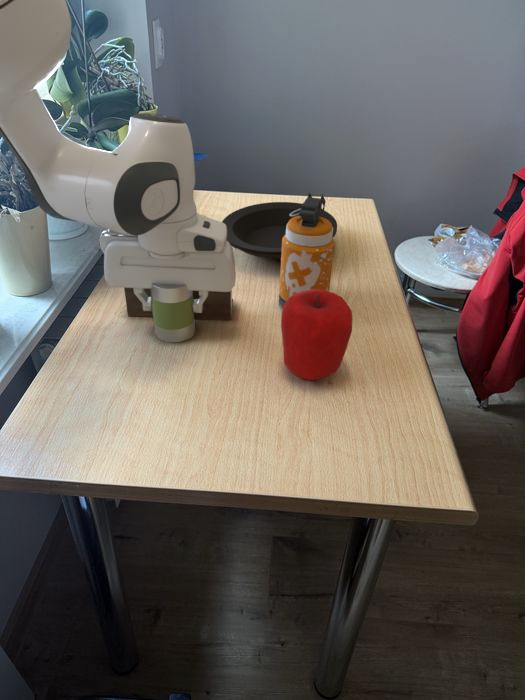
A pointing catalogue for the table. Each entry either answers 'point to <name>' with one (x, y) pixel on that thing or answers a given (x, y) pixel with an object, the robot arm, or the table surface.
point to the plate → (263, 227)
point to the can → (172, 312)
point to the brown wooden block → (213, 306)
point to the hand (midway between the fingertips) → (173, 310)
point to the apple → (315, 333)
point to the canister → (306, 251)
